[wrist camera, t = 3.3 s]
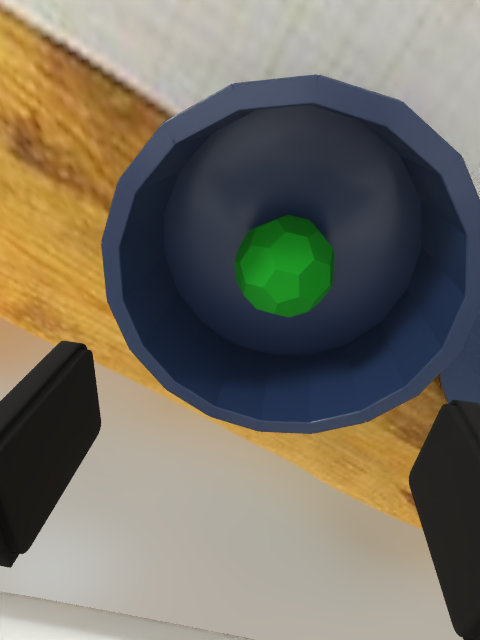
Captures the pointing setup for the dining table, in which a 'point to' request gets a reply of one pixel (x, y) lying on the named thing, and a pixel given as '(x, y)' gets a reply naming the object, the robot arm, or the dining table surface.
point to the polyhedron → (285, 266)
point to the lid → (464, 370)
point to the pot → (334, 224)
